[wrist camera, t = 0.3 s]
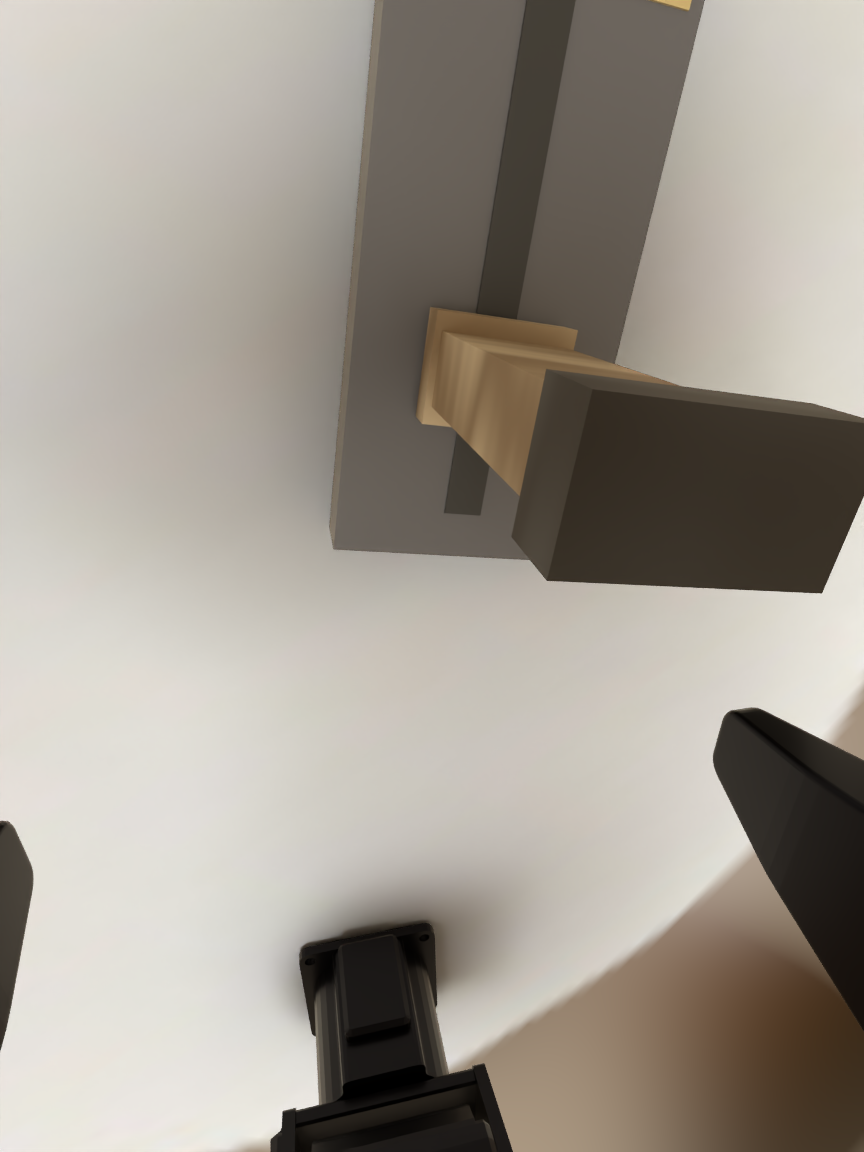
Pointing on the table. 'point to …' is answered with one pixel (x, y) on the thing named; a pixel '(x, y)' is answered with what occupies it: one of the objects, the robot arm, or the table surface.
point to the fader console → (490, 228)
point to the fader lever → (644, 462)
